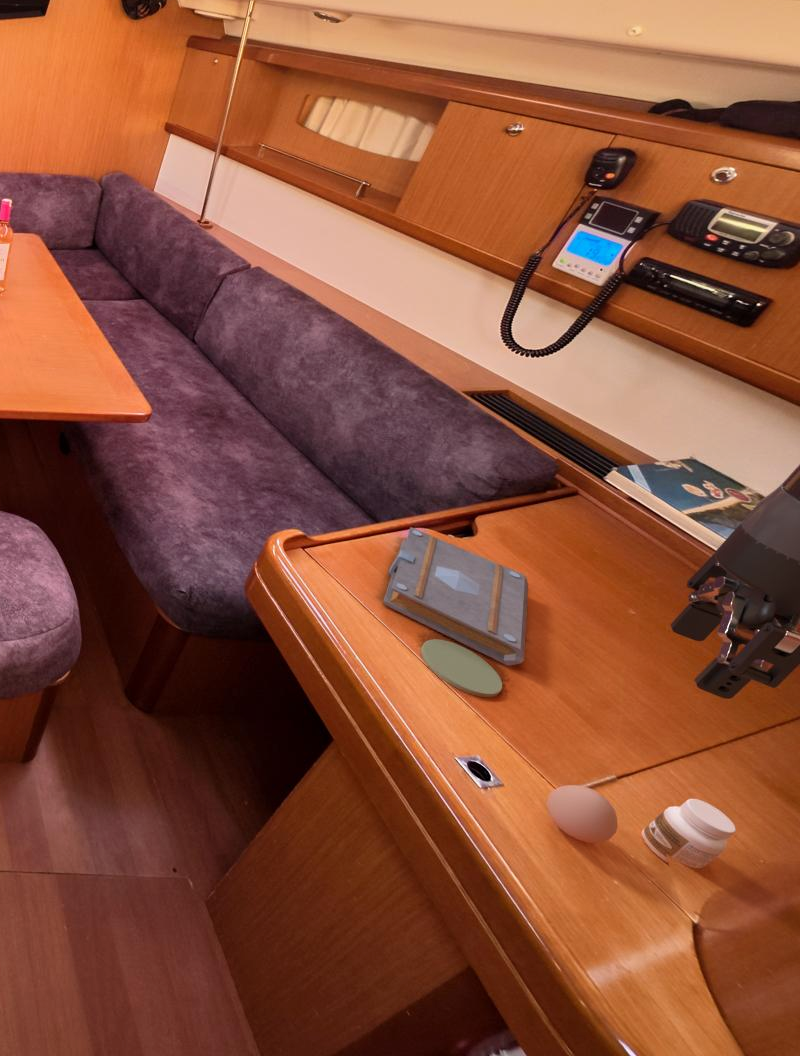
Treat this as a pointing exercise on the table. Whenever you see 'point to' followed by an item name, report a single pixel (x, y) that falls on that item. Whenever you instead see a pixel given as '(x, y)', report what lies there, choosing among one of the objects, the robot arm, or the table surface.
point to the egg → (582, 813)
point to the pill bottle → (689, 833)
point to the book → (460, 596)
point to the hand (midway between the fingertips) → (696, 661)
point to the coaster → (461, 668)
